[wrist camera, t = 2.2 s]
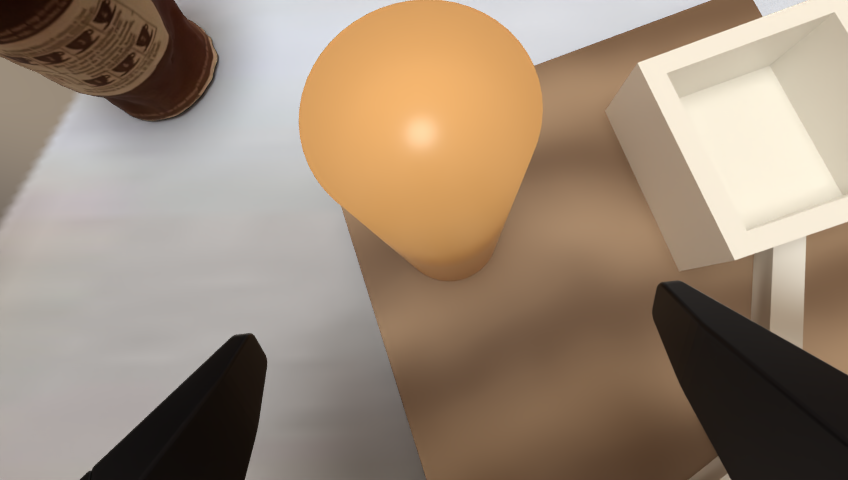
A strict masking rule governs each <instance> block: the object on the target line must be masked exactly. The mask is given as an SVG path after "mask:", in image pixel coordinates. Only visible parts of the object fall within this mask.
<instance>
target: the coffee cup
mask: <svg viewBox="0 0 848 480" xmlns="http://www.w3.org/2000/svg"><path fill="white" fill-rule="evenodd" d="M0 57H3V58H5V59H7V60H10V61H11V62H13V63H15V64H17V65H20V66H22V67H24V68H27V69H30V70H32V71H35V72H37V73H39V74H41V75H43V76H44V77H46V78H48V79H50V80H52V81H54V82H56V83H58V84H60V85H62V86H64V87H67V88H69V89H72V90H74V91H76V92H79V93H82V94H87V95H92V96H98V97H104V98H106V99H107V100H109V101H110V102H111V103H112V104H114V105H115V106H117V107H119V108H120V109H122V110H124V111H125V112H126V113H128V114H129V115H131V116H133V117H135V118H138V119H142V120H148V121H155V120H161V119H166V118H170V117H173V116H176V115H178V114H180V113H182V112H183V111H184V110H186V109H187V108H189V107H190V106H191V105H192V104H193V103H194V102H195V101H196V100H197V99H198V98H199V97H200V96H201V95H202V93H203V92H204V90H205V89H206V87H207V86H208V84H209V83H210V82H211V80H212V78H213V72H214V68H215V66H216V62H217V57H218V55H217V53H216V51H215V49H214V47H213V45H212V40H211V38H210V37H209V36H207V34H206V33H205V31H204V30H203V29H202V28H200V27H199V26H198V25H196V24H195V23H194V22H192V21H190V20H187V18H186V17H185V16H184V15H183V14H182V12H181V11H180V9H179V7H178V6H177V4H176V3H175V1H174V0H0Z"/></svg>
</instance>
